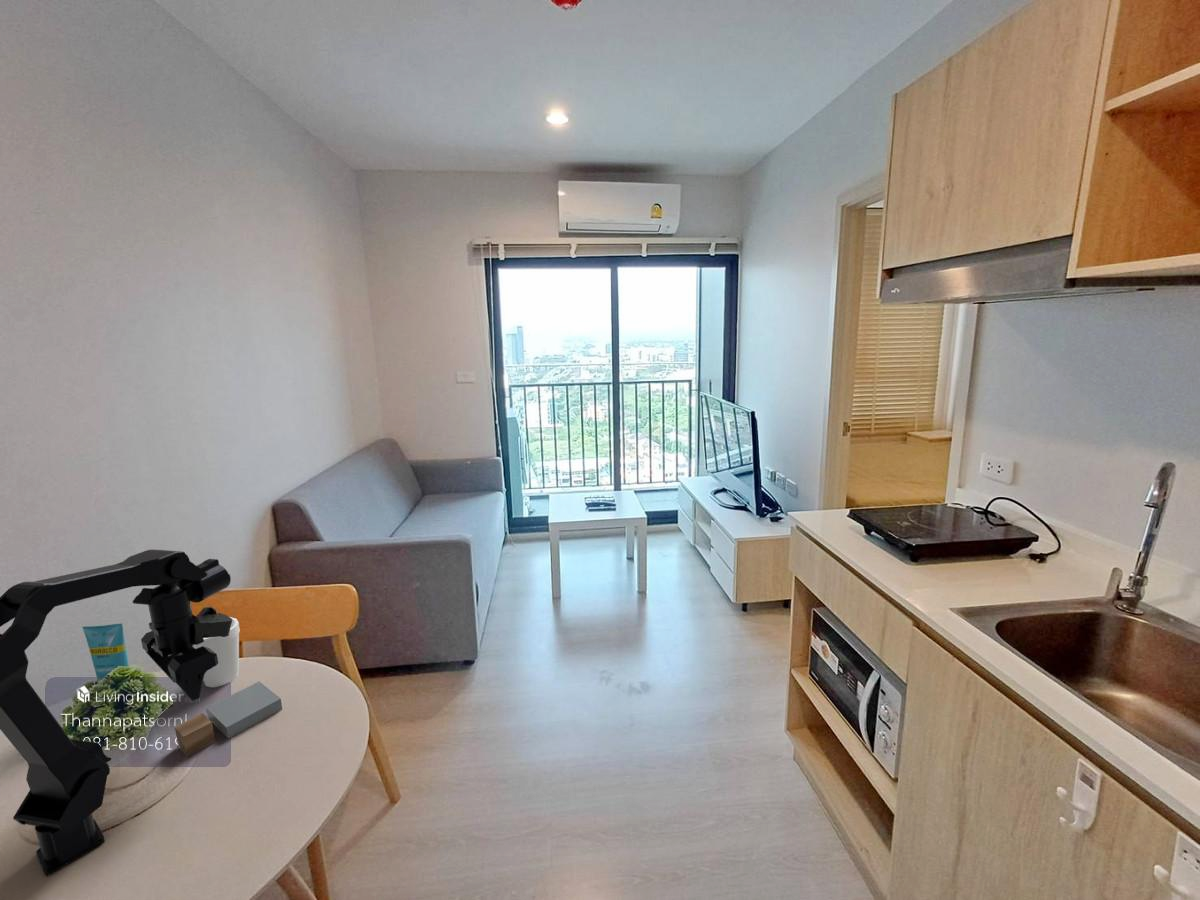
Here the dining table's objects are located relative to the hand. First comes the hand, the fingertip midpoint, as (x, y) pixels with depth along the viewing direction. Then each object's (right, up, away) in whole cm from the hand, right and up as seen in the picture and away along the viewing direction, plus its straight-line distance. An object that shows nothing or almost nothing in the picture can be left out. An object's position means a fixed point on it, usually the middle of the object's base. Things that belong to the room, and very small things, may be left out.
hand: (186, 689), depth 96 cm
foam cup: (-10, -8, +22) cm, 25 cm away
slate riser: (+4, -10, +11) cm, 15 cm away
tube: (-25, -10, +13) cm, 30 cm away
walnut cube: (0, -12, +2) cm, 12 cm away
